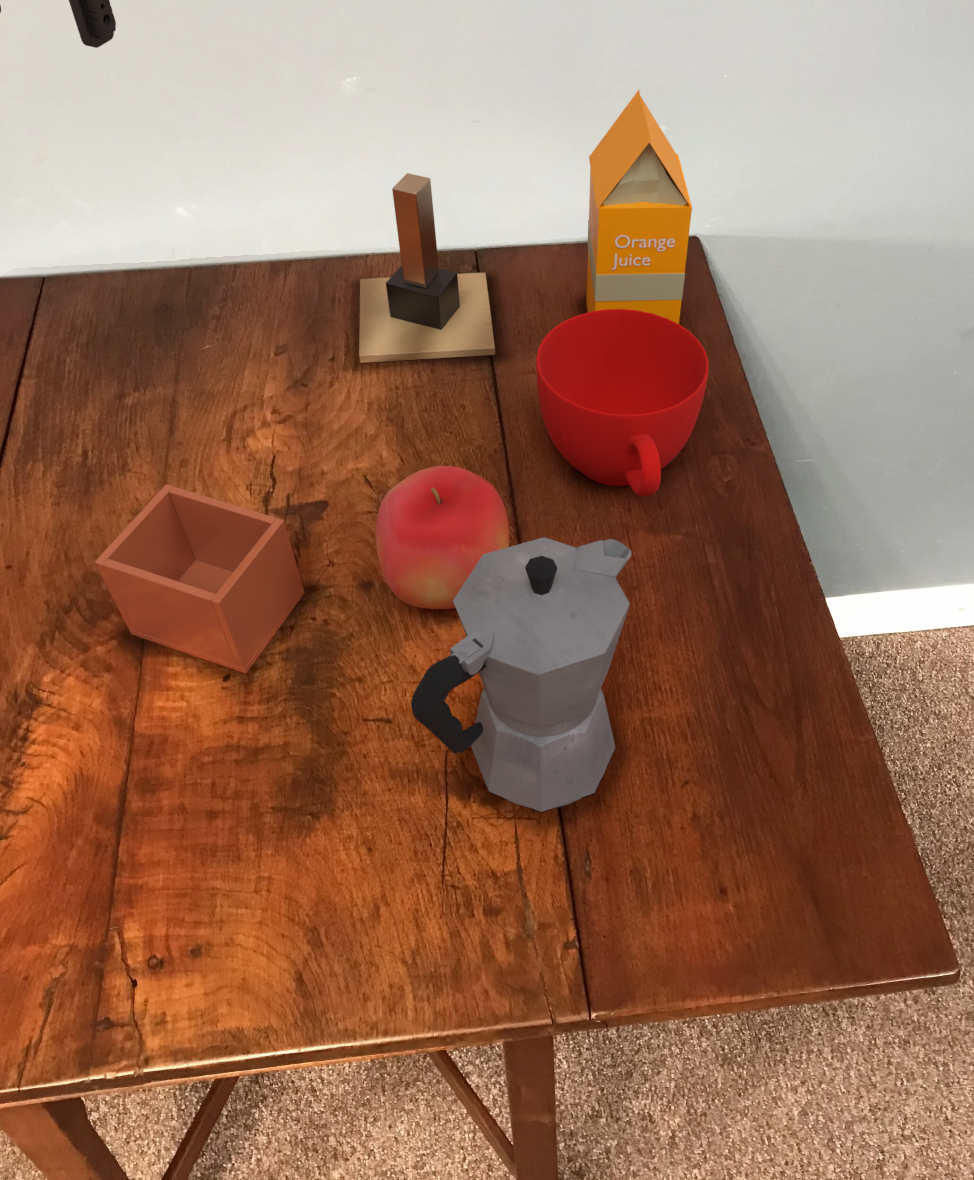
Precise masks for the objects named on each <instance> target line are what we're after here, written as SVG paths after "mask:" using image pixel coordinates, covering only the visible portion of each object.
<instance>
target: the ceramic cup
mask: <svg viewBox="0 0 974 1180" xmlns="http://www.w3.org/2000/svg"><path fill="white" fill-rule="evenodd" d="M709 365H710V364H709V359H708V355H707V351H706V350H705V348H704V346H703V345H702V343H701V342H700V340H699V339H698V338H697V337H696V336H695V335H694V334H693V333H692V332H691V331H689V330H688V329H687V328H685V327H683V326H682V325H681V324H680V323H679V324H677V323H675V322H673V321H671V320H669V319H667V318H665V317H662V316H659V315H656V314H653V313H648V312H643V311H638V310H627V309H605V310H598V311H592V312H588V311H587V312H585V313H581V314H578V315H574V316H572V317H570V318H568V319H566V320H564V321H562V322H561V323H559V324H557V325H556V326H555V327H553V328H552V329H551V330H550V331H549V332H548V333H547V334H546V335H545V336H544V337H543V339H542V340H541V343H540V344H539V346H538V349H537V352H536V359H535V374H536V384H537V385H536V386H537V394H538V402H539V408H540V413H541V416H542V420H543V423H544V425H545V428H546V430H547V433H548V436H549V438H550V440H551V442H552V443H553V445H554V446H555V448H556V449H557V450H558V452H559V453H560V455H561V456H562V457H563V458H564V459H565V461H567V462H568V463H569V464H570V465H571V466H572V467H573V468H574V469H576V470H577V471H579V472H580V473H582V474H583V475H584V476H586V477H587V478H588V479H590V480H592V481H594V482H596V483H598V484H601V485H606V486H613V487H624V486H625V487H626V486H630V488H631V490H632V491H633V492H634V493H635V494H636V495H637V496H639V497H650V496H653V495H655V494H656V493H657V492H658V490H659V489H660V485H661V481H662V479H661V478H662V470H663V469H664V468H666V466H668V464H670V463H671V462H672V461H673V460H674V459H675V458H676V457H677V456H678V455H679V454H680V452H681V451H682V449H683V448H684V446H685V445H686V444H687V442H688V441H689V438H690V437H691V435H692V432H694V429H695V426H696V422H697V420H698V417H699V414H700V412H701V408H702V405H703V401H704V398H705V394H706V390H707V384H708V380H709Z"/></svg>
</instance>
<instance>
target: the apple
mask: <svg viewBox="0 0 974 1180" xmlns="http://www.w3.org/2000/svg"><path fill="white" fill-rule="evenodd" d="M375 521H376V522H375V550H376V556H377V560H378V565H379V568H380V571H381V574H382V576H383V578H384V581H385V582H386V584H387V586H388V588H389V589H390V590H391V592H392V593H393V594H394V595H395V596H396V597H397V598H398V599H399V600H401V601H402V602H403V603H405V604H407V605H409V606H412V607H415V608H420V609H428V610H454V609H456V608H455V605H454V603H453V600H454V598H455V597H456V595H457V594H458V592H459V591H460V589H461V588H462V586H463V584H464V583H465V581H466V580H467V578H468V577H469V575H470V574H471V572H472V571H473V569H474V568H475V566H476V565H477V563H478V562H479V560H480V558H481V557H482V555H483V554H486V553H490V552H493V551H497V550H500V549H504V548H508V547H510V543H511V542H510V525H509V517H508V514H507V510H506V507H505V504H504V501H503V499H502V497H501V496H500V493H499V492H498V491H497V489H496V488H495V487H494V486H493V485H492V484H491V483H490V482H488V480H486V479H484V477H482V476H480V475H478V474H476V473H474V472H472V471H470V470H468V469H466V468H463V467H460V466H452V465H436V466H431V467H430V466H429V467H427V468H424V469H420V470H418V471H415V472H414V473H411V474H410V475H408V476H406V477H405V478H403V479H402V480H401V481H399V482H397V483H396V484H395V485H394V486H392V488H391V489H389V491H387V493H386V494H385V496H384V497H383V499H382V500H381V503H380V505H379V508H378V512H377V514H376V520H375Z"/></svg>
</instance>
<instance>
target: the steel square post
mask: <svg viewBox="0 0 974 1180" xmlns="http://www.w3.org/2000/svg"><path fill="white" fill-rule="evenodd" d="M431 181H432V180H431V177H426V176H423V175H418V174H413V173H408V172H407V173H405V175H404V176H403V177H402V178H400V180H398V181H397V183H396V184H395V185H394V186H393V187H392V188H391V191H392V198H393V206H394V215H395V222H396V223H395V224H396V230H397V237H398V238H397V239H398V246H399V254H400V263H401V265H400V266H399V267H398V268H397V270H396V271H395V272H394V273H393V274H392V275H391V276H390V277H391V278H390V279H389V280H388V281H387V282H386V289H387V296H388V303H389V310H390V317H393V318H396V319H400V320H404V321H408V322H412V323H416V324H420V325H424V326H428V327H432V328H436V329H440V330H442V329H443V327H444V326H445V325H446V323H447V322H448V321H449V320H450V318H451V317H452V316H453V314H454V313H455V312H456V311H457V309H458V308H459V307H460V302H459V289H458V276H457V274H458V272H456V271H452V270H447V269H444V268H439V266H440V265H439V255H438V247H437V245H438V244H437V235H436V234H437V233H436V225H435V215H434V213H435V211H434V203H433V194H432V193H433V192H432V182H431Z"/></svg>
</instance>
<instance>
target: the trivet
mask: <svg viewBox="0 0 974 1180" xmlns="http://www.w3.org/2000/svg"><path fill="white" fill-rule="evenodd" d="M457 276H458V289H459V302H460V307H459V308H458V309H457V311H456V312H455V313H454V314H453V316H452V317H451V318H450V320H449V321H448V322H447V323H446V325H445V326H444V327H443V329H442V330H440V329H436V328H432V327H428V326H424V325H420V324H416V323H412V322H408V321H404V320H400V319H396V318H393V317H390V310H389V303H388V296H387V289H386V282H387V281H388V280H389V279H390V278H391V277H392V276H387V277H371V278H369V277H368V278H360V279H359V326H358V327H359V329H358V330H359V335H358V336H359V339H358V340H359V341H358V357H359V362H360V363H361V364H364V363H383V362H399V361H414V360H416V361H417V360H433V359H449V358H467V357H481V356H482V357H484V356H495V355H496V347H495V346H496V344H495V337H494V330H493V322H492V321H493V320H492V312H491V304H490V297H489V290H488V281H487V273H486V272H470V273H457Z"/></svg>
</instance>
